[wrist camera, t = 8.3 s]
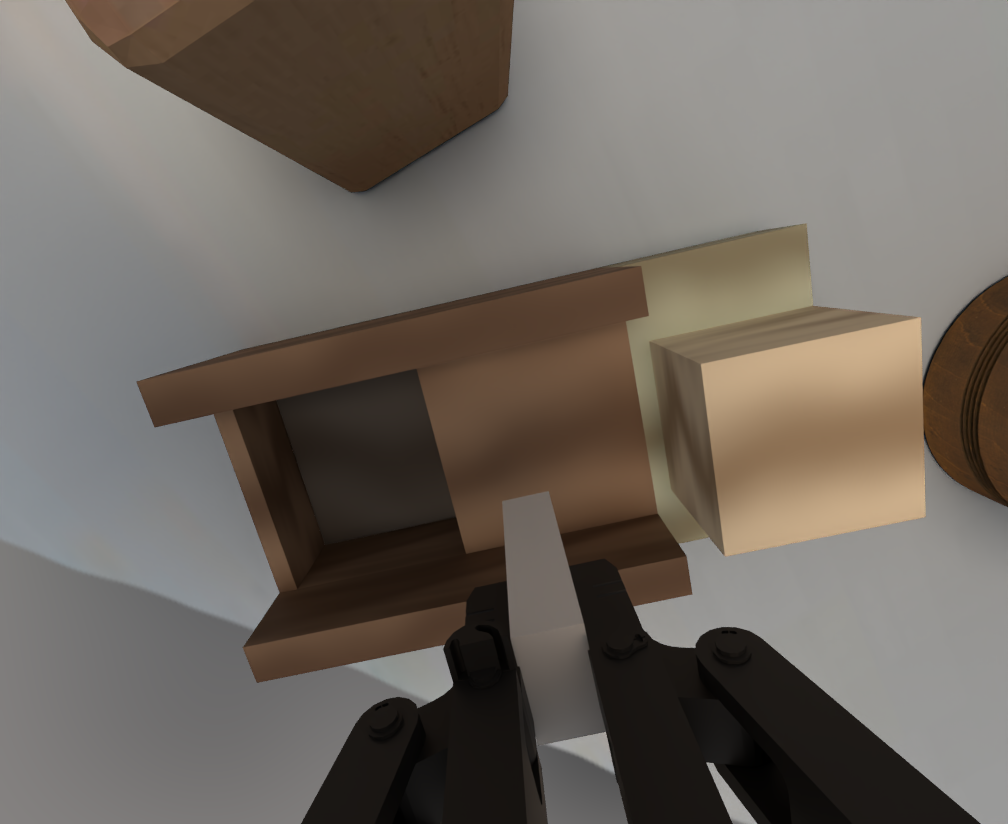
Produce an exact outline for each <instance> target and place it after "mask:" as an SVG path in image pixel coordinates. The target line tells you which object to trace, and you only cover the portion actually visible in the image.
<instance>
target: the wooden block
mask: <svg viewBox="0 0 1008 824" xmlns="http://www.w3.org/2000/svg"><path fill="white" fill-rule="evenodd" d="M65 1H66V2H67V4H68V5H69V7H70V8H71V10H72V12H73V13H74V15H75V16H76V18H77V19H78V21H79V22H80V24H81V25H82V27H83V28H84V30H85V31H86V33H87V34H88V36H89V37H90V39H91V40H92V42H94V43H95V44H96V45H98V46H99V47H100V48H101V49H103V50H104V51H105V52H107V53H108V54H109V55H110V56H112V57H113V58H114V59H115V60H117V61H118V62H119V63H121V64H122V65H123V66H124V67H126V68H127V69H129V70H131V71H133V72H135V73H136V74H138V75H140V76H142V77H144V78H146V79H147V80H149V81H151V82H153V83H155V84H156V85H158V86H160V87H162V88H164V89H165V90H167V91H169V92H171V93H173V94H174V95H176V96H178V97H180V98H182V99H183V100H185V101H187V102H189V103H191V104H192V105H194V106H196V107H198V108H200V109H201V110H203V111H205V112H207V113H209V114H211V115H212V116H214V117H216V118H218V119H220V120H221V121H223V122H225V123H227V124H229V125H230V126H232V127H234V128H236V129H238V130H239V131H241V132H243V133H245V134H247V135H248V136H250V137H252V138H254V139H256V140H257V141H259V142H261V143H263V144H265V145H267V146H268V147H270V148H272V149H274V150H276V151H277V152H279V153H281V154H283V155H285V156H286V157H288V158H290V159H292V160H294V161H295V162H297V163H299V164H301V165H303V166H304V167H306V168H308V169H310V170H312V171H313V172H315V173H317V174H319V175H321V176H322V177H324V178H326V179H328V180H330V181H332V182H333V183H335V184H337V185H339V186H341V187H342V188H344V189H346V190H348V191H350V192H359V191H366V190H367V189H369V188H371V187H372V186H374V185H376V184H377V183H379V182H380V181H382V180H384V179H385V178H387V177H389V176H390V175H392V174H393V173H395V172H397V171H398V170H400V169H402V168H403V167H405V166H406V165H408V164H410V163H411V162H413V161H414V160H416V159H418V158H419V157H421V156H423V155H424V154H426V153H427V152H429V151H431V150H432V149H434V148H436V147H437V146H439V145H440V144H442V143H444V142H445V141H447V140H448V139H450V138H452V137H453V136H455V135H457V134H458V133H460V132H461V131H463V130H465V129H466V128H468V127H470V126H471V125H473V124H474V123H476V122H478V121H479V120H481V119H483V118H484V117H486V116H487V115H489V114H491V113H492V112H494V111H495V110H497V109H499V107H500V106H501V104H502V103H503V102H504V100H505V99H506V97H507V96H508V84H509V68H510V53H511V38H512V22H513V7H514V0H65Z"/></svg>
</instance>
